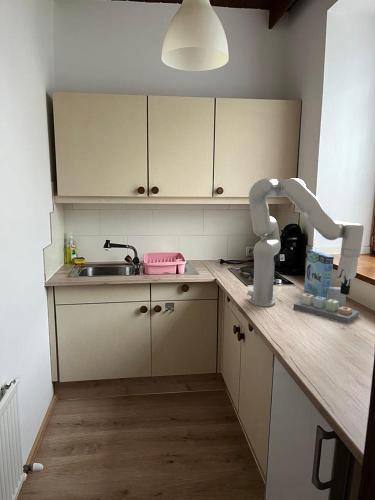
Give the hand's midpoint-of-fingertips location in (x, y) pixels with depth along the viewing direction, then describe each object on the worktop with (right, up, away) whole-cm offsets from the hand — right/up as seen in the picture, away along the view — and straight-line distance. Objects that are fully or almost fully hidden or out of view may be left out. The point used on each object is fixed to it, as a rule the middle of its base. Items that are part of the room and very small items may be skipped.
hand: (344, 293), depth 148 cm
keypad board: (-5, -10, +8) cm, 13 cm away
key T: (-7, -7, +9) cm, 14 cm away
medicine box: (+4, -8, +18) cm, 20 cm away
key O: (-11, -6, +13) cm, 19 cm away
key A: (-3, -8, +5) cm, 10 cm away
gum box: (0, -5, +33) cm, 33 cm away
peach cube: (+1, -10, +1) cm, 11 cm away
